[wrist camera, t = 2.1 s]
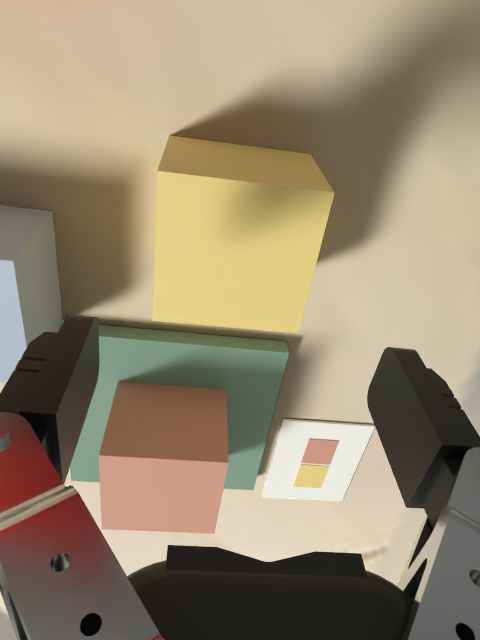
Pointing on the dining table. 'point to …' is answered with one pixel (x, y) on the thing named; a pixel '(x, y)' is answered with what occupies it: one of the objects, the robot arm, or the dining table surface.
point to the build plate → (189, 371)
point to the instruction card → (315, 459)
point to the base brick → (164, 458)
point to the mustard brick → (236, 234)
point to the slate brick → (26, 282)
